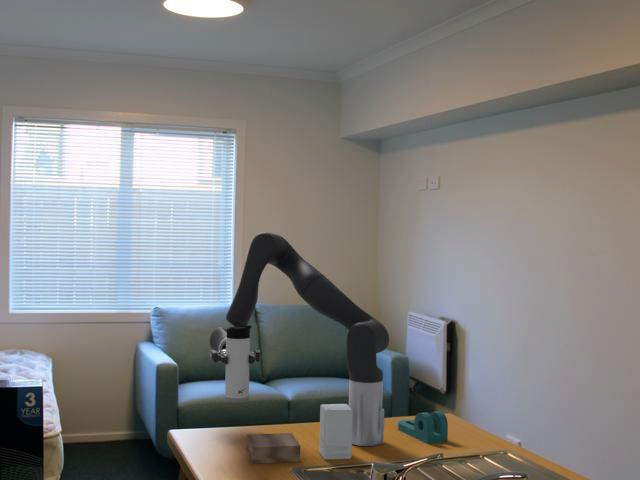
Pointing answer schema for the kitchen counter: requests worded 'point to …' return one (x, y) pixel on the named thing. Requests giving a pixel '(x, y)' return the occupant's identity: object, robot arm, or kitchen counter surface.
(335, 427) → the supplement box
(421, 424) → the bracket
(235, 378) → the travel mug
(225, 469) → the kitchen counter surface
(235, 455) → the kitchen counter surface
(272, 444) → the walnut plinth
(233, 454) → the kitchen counter surface
